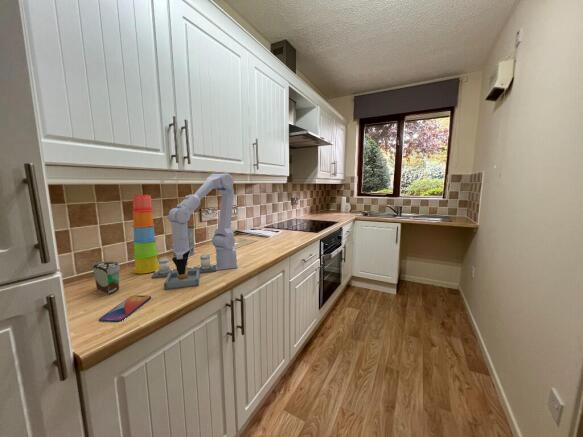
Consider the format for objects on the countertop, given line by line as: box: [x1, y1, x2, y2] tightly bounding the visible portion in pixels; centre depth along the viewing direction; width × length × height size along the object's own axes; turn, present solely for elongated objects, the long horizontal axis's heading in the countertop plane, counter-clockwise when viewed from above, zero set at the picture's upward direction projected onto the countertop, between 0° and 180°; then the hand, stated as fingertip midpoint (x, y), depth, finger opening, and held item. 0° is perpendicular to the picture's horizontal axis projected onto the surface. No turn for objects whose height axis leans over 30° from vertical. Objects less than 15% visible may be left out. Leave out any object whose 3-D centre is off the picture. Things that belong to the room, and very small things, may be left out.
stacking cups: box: [131, 194, 159, 275], centre depth 109 cm, size 10×10×35 cm
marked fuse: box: [177, 264, 189, 281], centre depth 99 cm, size 4×4×6 cm
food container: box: [92, 260, 122, 296], centre depth 91 cm, size 12×6×10 cm, turn 59°
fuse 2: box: [199, 254, 211, 270], centre depth 112 cm, size 4×4×6 cm
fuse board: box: [150, 263, 217, 279], centre depth 109 cm, size 26×7×2 cm, turn 109°
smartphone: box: [98, 294, 152, 323], centre depth 78 cm, size 7×15×1 cm, turn 178°
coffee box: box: [173, 225, 195, 258], centre depth 134 cm, size 9×6×16 cm
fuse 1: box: [157, 257, 171, 274], centre depth 106 cm, size 4×4×6 cm
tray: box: [163, 269, 201, 291], centre depth 99 cm, size 12×12×2 cm
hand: (182, 270), depth 99 cm, fingers open, 7 cm apart
